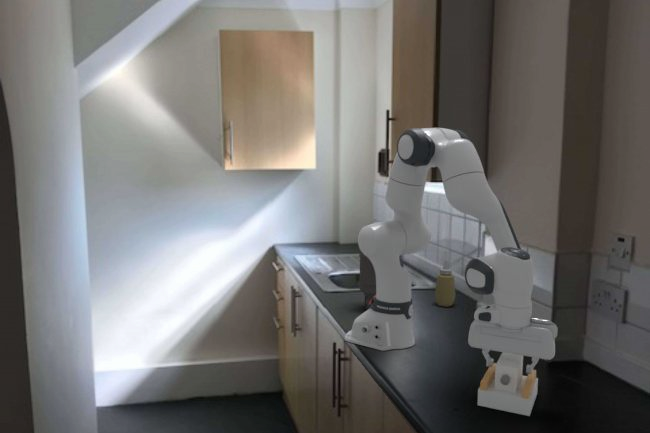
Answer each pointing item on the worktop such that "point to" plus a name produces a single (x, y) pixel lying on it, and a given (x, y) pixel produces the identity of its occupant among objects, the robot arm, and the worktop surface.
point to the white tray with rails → (508, 394)
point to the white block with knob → (508, 372)
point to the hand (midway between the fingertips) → (509, 369)
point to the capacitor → (367, 279)
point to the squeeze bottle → (445, 286)
